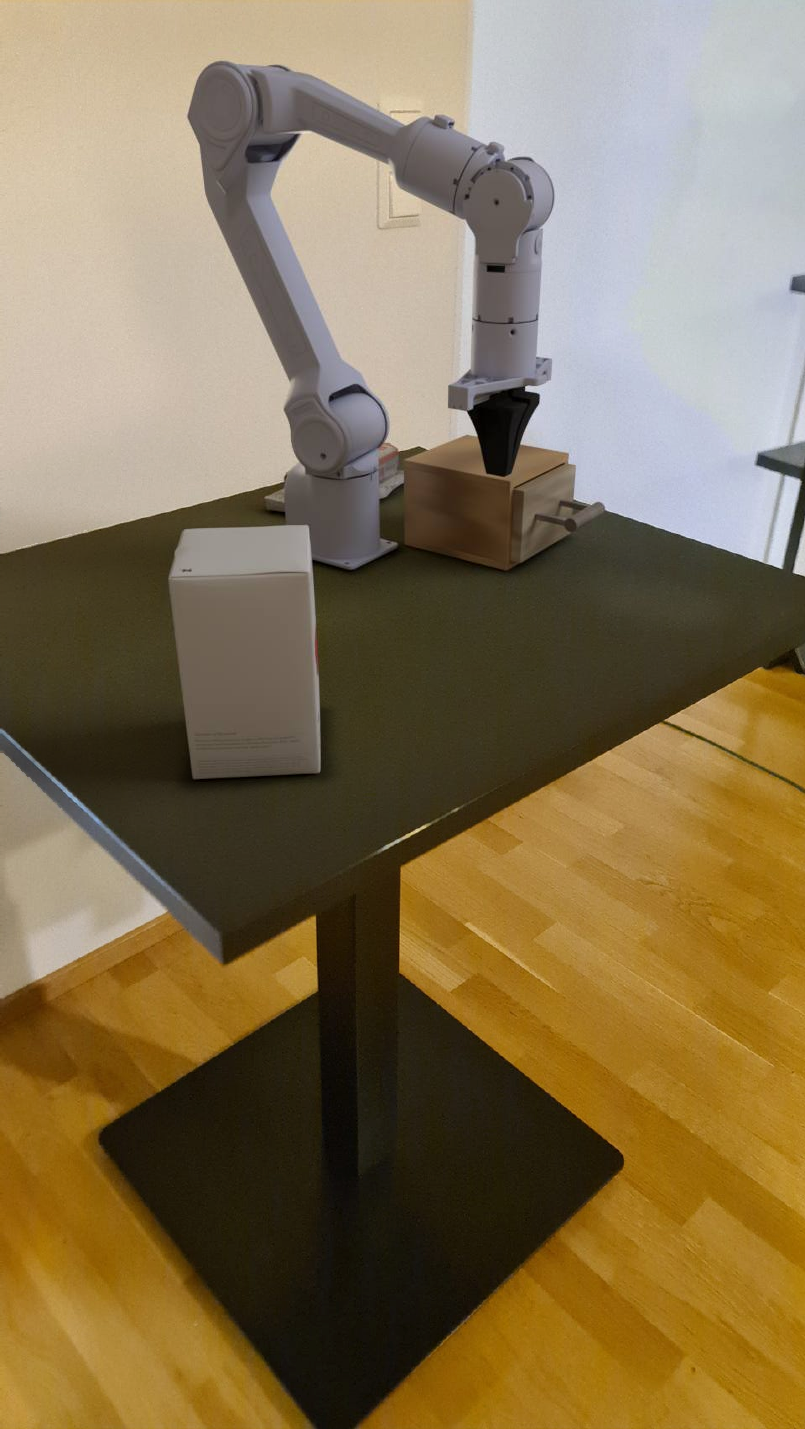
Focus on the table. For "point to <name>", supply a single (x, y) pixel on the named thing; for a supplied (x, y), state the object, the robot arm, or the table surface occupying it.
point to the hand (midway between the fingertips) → (498, 473)
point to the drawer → (547, 512)
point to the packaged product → (387, 477)
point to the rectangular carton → (247, 650)
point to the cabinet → (467, 500)
